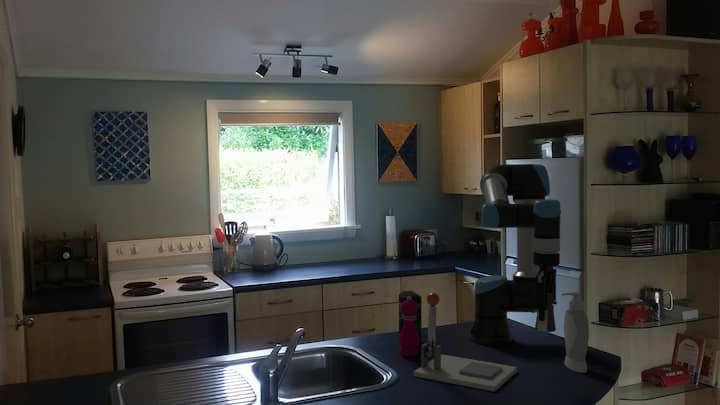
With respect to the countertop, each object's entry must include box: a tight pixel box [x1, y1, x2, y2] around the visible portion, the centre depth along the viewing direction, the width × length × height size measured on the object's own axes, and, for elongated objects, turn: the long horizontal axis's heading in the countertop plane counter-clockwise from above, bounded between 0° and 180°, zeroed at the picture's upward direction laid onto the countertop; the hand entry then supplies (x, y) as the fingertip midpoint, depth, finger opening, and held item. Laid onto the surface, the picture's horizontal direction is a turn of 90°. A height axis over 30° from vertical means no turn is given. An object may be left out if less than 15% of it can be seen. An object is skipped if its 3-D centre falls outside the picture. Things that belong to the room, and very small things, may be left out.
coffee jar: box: [398, 290, 423, 345], centre depth 236 cm, size 10×8×19 cm
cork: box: [534, 293, 557, 333], centre depth 193 cm, size 6×6×11 cm
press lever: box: [425, 292, 440, 360], centre depth 203 cm, size 4×4×20 cm
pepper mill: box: [398, 296, 421, 357], centre depth 223 cm, size 7×7×20 cm
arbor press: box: [413, 342, 518, 392], centre depth 201 cm, size 20×26×8 cm
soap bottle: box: [561, 291, 590, 374], centre depth 205 cm, size 13×8×24 cm, turn 13°
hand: (545, 328), depth 194 cm, fingers closed on cork, 6 cm apart
